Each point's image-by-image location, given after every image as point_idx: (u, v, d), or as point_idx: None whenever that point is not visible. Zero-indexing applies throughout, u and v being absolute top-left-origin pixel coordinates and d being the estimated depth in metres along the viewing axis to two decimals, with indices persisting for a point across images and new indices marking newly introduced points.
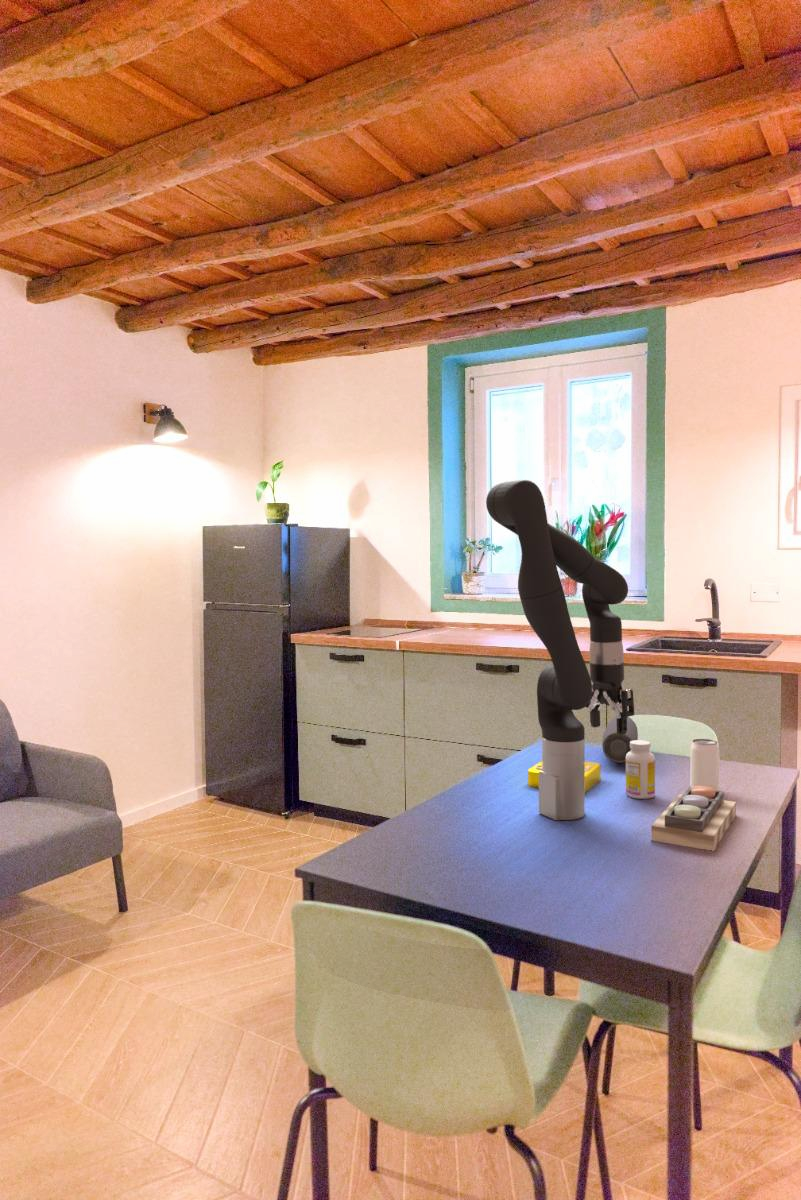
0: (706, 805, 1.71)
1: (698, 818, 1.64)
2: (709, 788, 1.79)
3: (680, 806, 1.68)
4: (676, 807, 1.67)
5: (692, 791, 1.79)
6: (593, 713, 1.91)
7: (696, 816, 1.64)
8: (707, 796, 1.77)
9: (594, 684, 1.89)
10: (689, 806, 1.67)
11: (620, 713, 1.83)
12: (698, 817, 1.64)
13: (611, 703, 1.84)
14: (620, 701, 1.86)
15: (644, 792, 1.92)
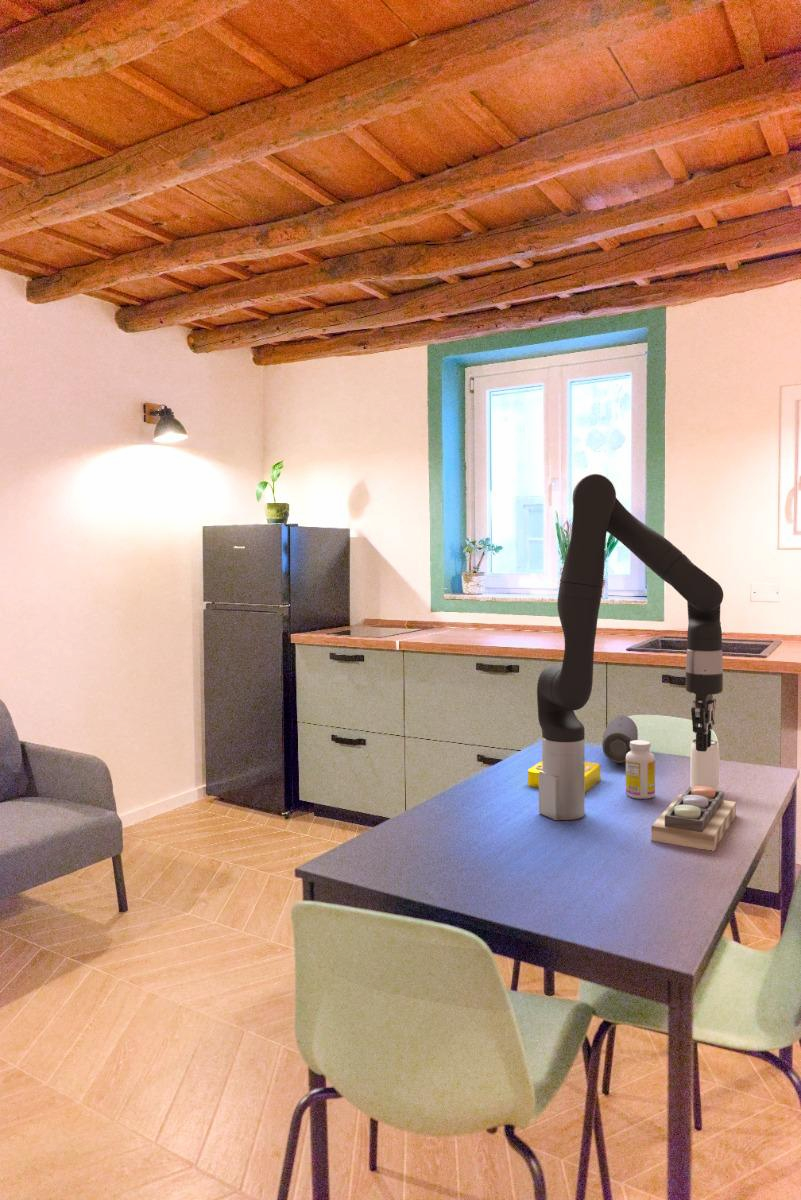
0: (706, 805, 1.71)
1: (698, 818, 1.64)
2: (709, 788, 1.79)
3: (680, 806, 1.68)
4: (676, 807, 1.67)
5: (692, 791, 1.79)
6: None
7: (696, 816, 1.64)
8: (707, 796, 1.77)
9: (706, 700, 1.74)
10: (689, 806, 1.67)
11: None
12: (698, 817, 1.64)
13: (713, 713, 1.79)
14: None
15: (644, 792, 1.92)
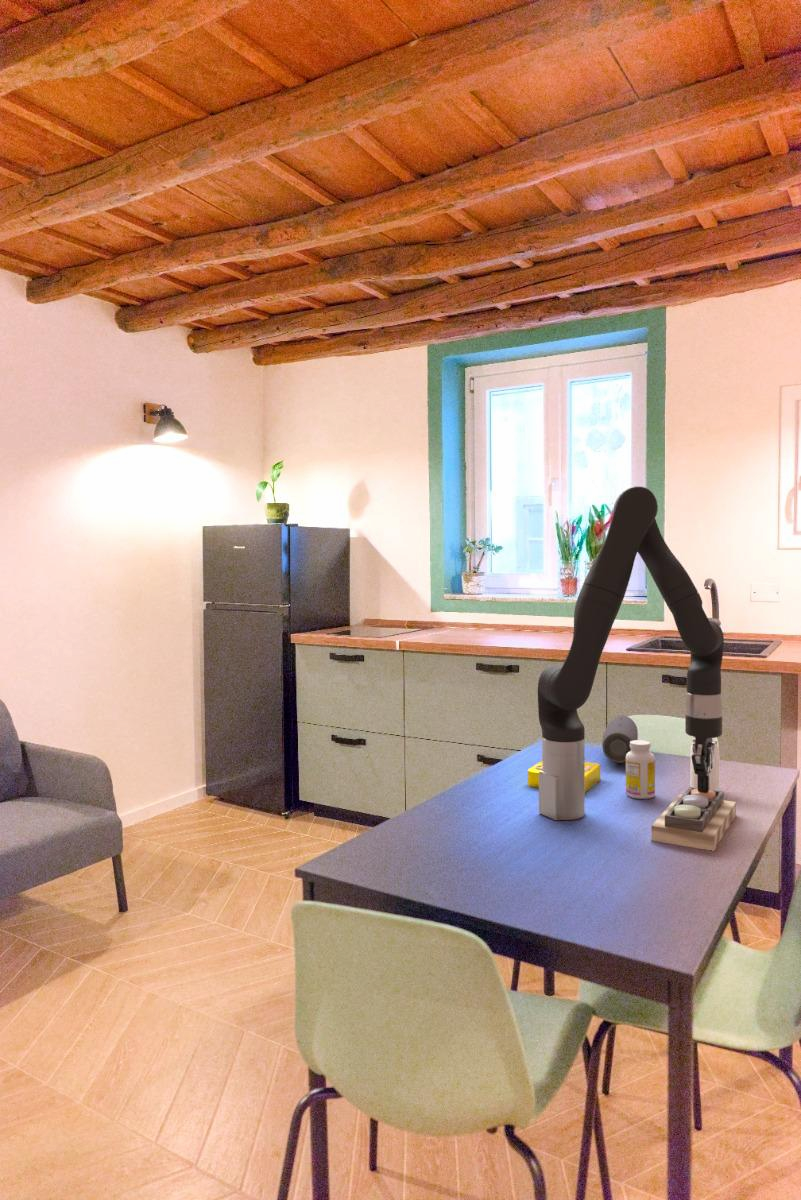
0: (706, 805, 1.71)
1: (698, 818, 1.64)
2: (709, 791, 1.79)
3: (680, 806, 1.68)
4: (676, 807, 1.67)
5: (692, 794, 1.79)
6: None
7: (696, 816, 1.64)
8: None
9: (705, 744, 1.75)
10: (689, 806, 1.67)
11: None
12: (698, 817, 1.64)
13: (712, 757, 1.79)
14: None
15: (644, 792, 1.92)
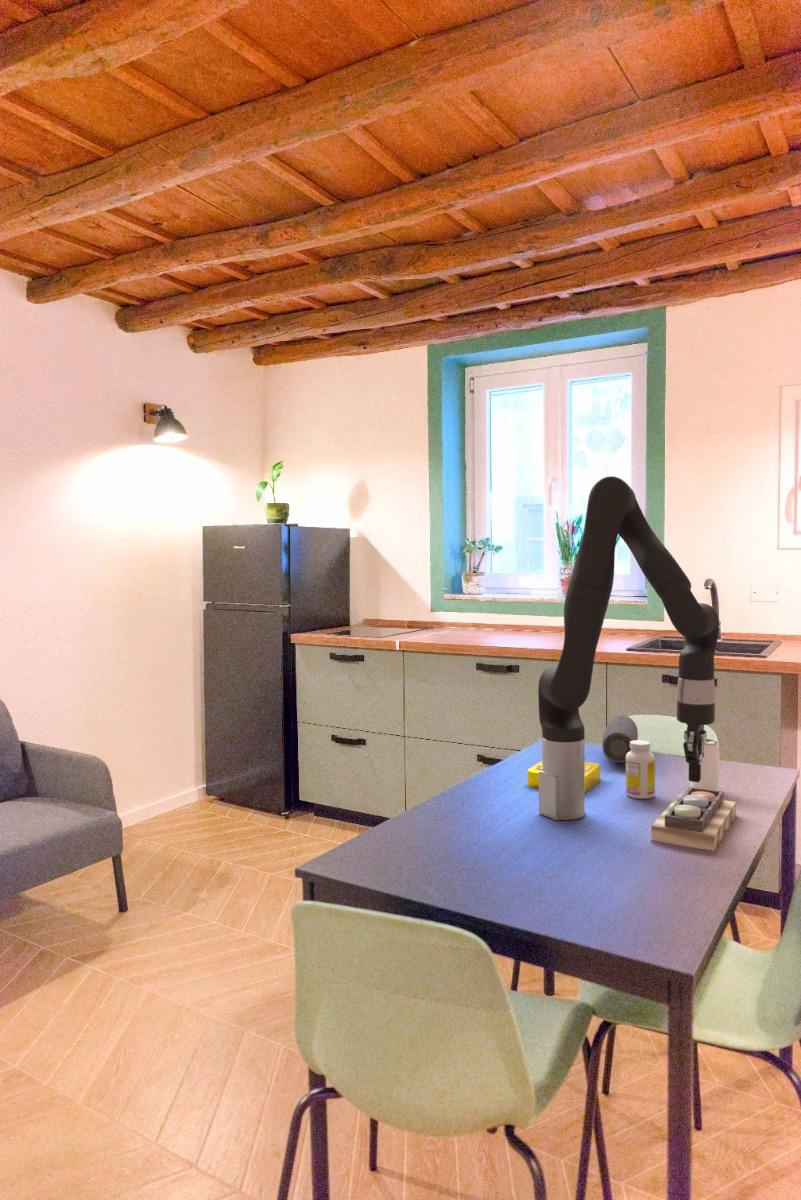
0: (706, 805, 1.71)
1: (698, 818, 1.64)
2: (709, 794, 1.79)
3: (680, 806, 1.68)
4: (676, 807, 1.67)
5: None
6: None
7: (696, 816, 1.64)
8: None
9: (697, 731, 1.68)
10: (689, 806, 1.67)
11: None
12: (698, 817, 1.64)
13: (704, 745, 1.72)
14: None
15: (644, 792, 1.92)
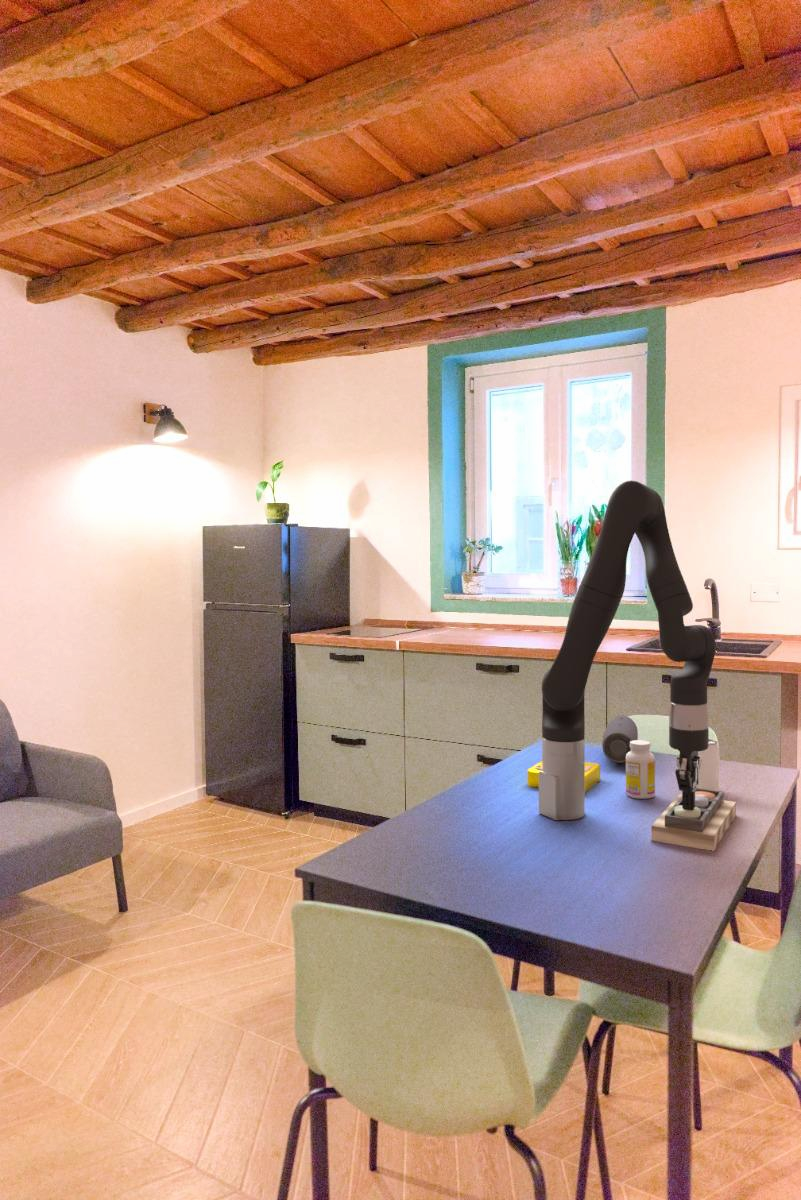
0: (706, 805, 1.71)
1: (698, 819, 1.64)
2: (709, 794, 1.79)
3: (680, 807, 1.68)
4: (676, 808, 1.67)
5: None
6: None
7: (696, 817, 1.64)
8: None
9: (690, 758, 1.62)
10: None
11: None
12: (698, 818, 1.64)
13: (698, 772, 1.66)
14: None
15: (644, 792, 1.92)
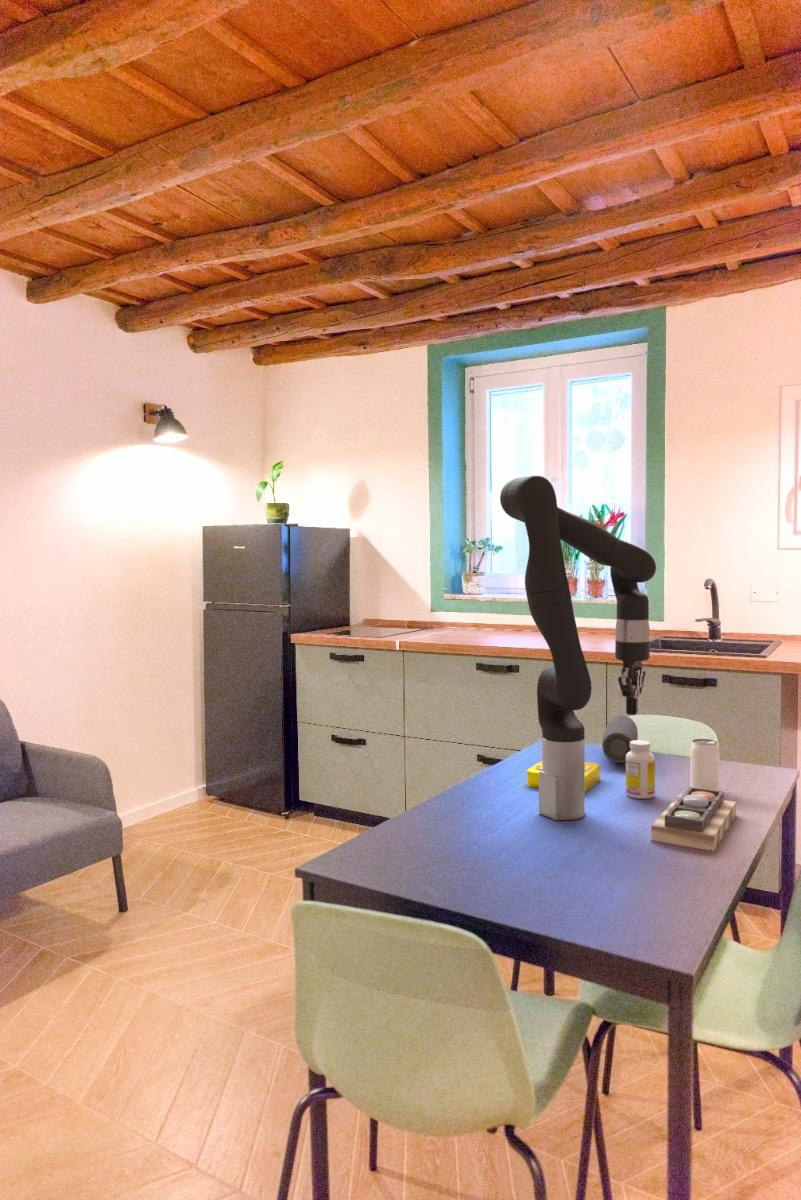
0: (706, 805, 1.71)
1: None
2: (709, 794, 1.79)
3: (680, 812, 1.68)
4: (676, 813, 1.67)
5: None
6: None
7: None
8: None
9: (632, 667, 1.84)
10: (689, 813, 1.67)
11: None
12: None
13: (641, 681, 1.88)
14: None
15: (644, 792, 1.92)
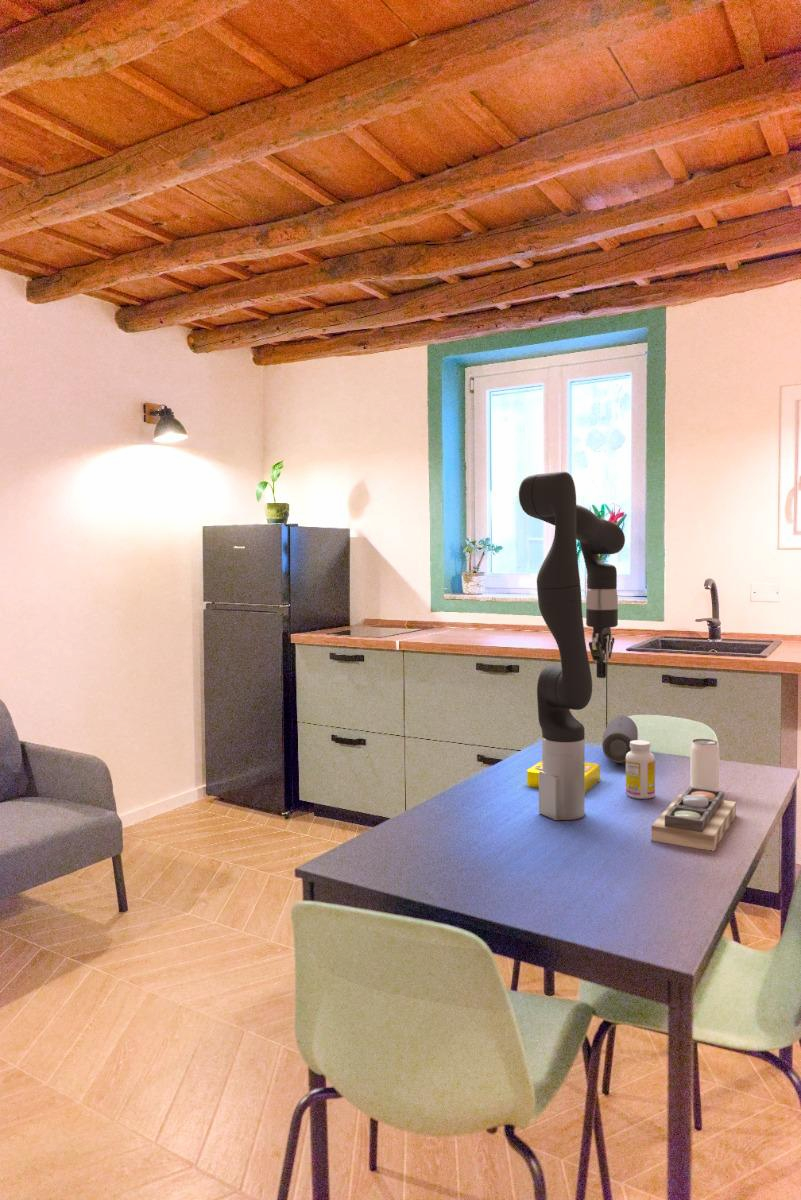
0: (706, 805, 1.71)
1: None
2: (709, 794, 1.79)
3: (680, 812, 1.68)
4: (676, 813, 1.67)
5: None
6: None
7: None
8: None
9: (601, 633, 1.98)
10: (689, 813, 1.67)
11: None
12: None
13: (610, 647, 2.02)
14: None
15: (644, 792, 1.92)
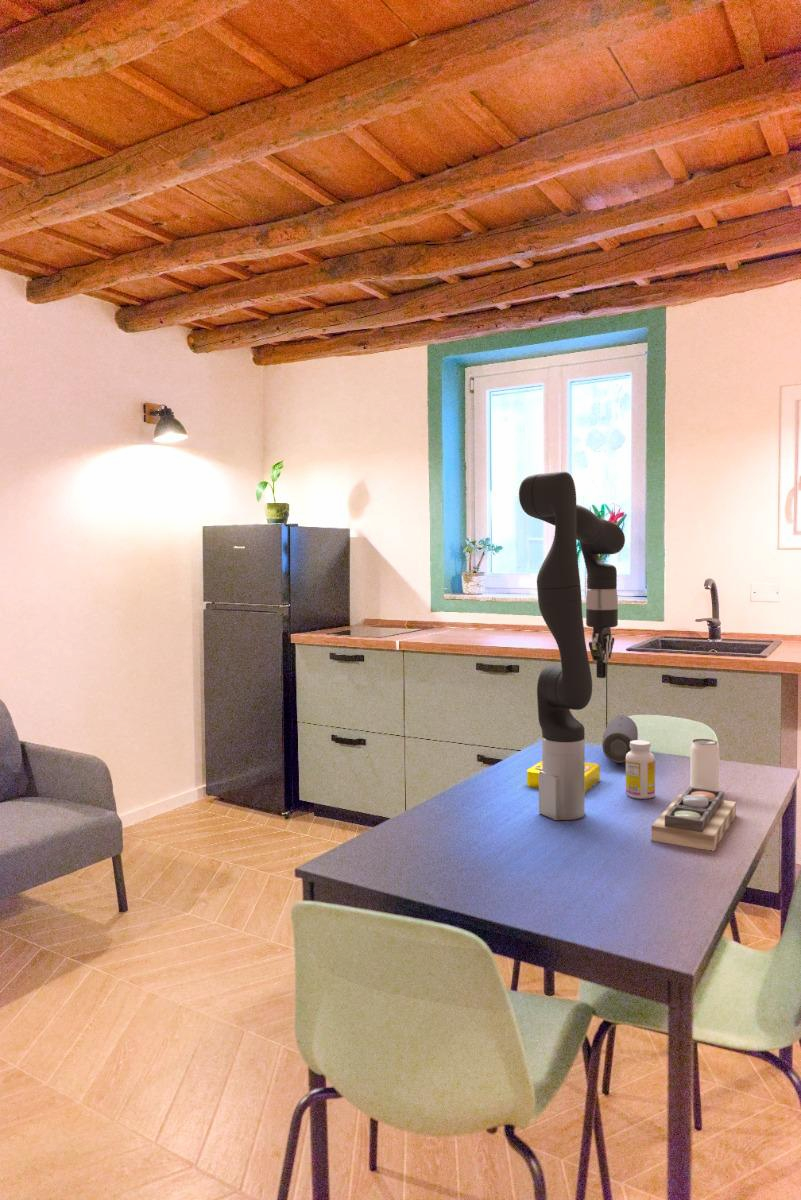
0: (706, 805, 1.71)
1: None
2: (709, 794, 1.79)
3: (680, 812, 1.68)
4: (676, 813, 1.67)
5: None
6: None
7: None
8: None
9: (601, 633, 1.98)
10: (689, 813, 1.67)
11: None
12: None
13: (610, 647, 2.02)
14: None
15: (644, 792, 1.92)
